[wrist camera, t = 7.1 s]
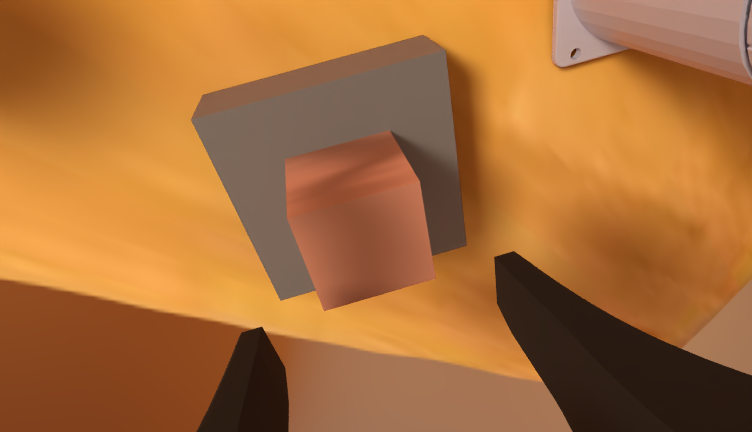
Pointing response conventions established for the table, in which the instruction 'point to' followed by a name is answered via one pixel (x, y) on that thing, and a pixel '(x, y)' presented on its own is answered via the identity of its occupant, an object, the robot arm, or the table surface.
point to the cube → (358, 219)
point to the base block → (333, 141)
